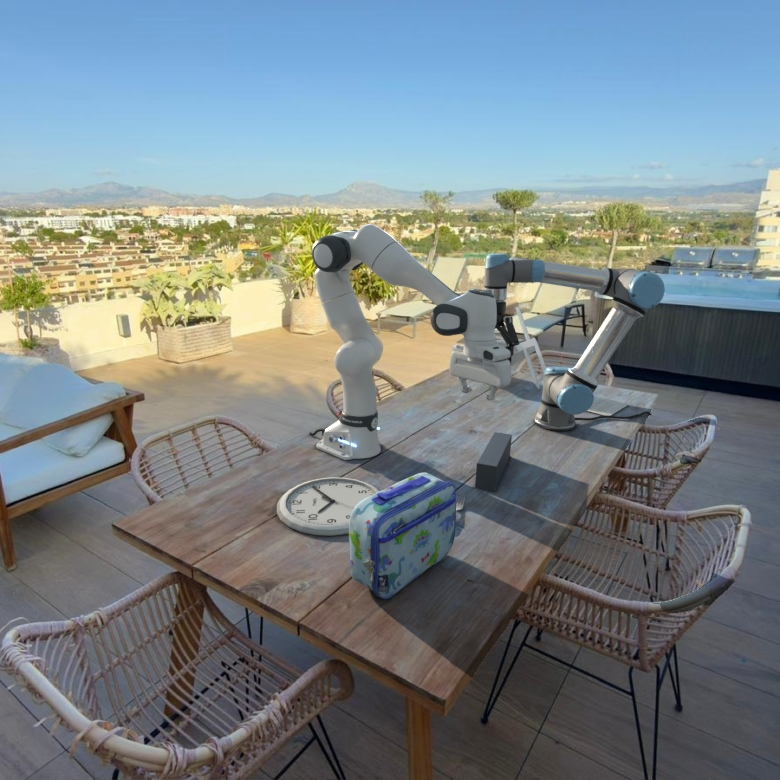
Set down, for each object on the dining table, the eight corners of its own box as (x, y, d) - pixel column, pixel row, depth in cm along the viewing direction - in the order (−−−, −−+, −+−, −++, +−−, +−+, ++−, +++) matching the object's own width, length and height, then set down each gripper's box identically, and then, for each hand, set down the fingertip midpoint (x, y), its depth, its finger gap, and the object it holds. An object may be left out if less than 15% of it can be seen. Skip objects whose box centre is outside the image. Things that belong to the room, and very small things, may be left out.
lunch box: (377, 612, 103) (378, 518, 97) (342, 586, 111) (341, 497, 104) (459, 557, 121) (465, 475, 115) (425, 538, 128) (428, 460, 122)
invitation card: (608, 416, 214) (573, 407, 224) (608, 416, 214) (573, 408, 224) (628, 404, 229) (594, 396, 238) (628, 405, 229) (594, 397, 238)
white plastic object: (486, 418, 267) (465, 395, 242) (467, 346, 289) (447, 318, 264) (556, 394, 255) (543, 367, 230) (531, 321, 277) (516, 289, 252)
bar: (492, 453, 177) (494, 431, 175) (509, 456, 175) (511, 434, 173) (474, 487, 154) (476, 463, 152) (494, 491, 152) (496, 466, 150)
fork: (441, 530, 132) (442, 523, 131) (456, 501, 146) (456, 494, 145) (451, 532, 131) (452, 525, 130) (465, 502, 145) (465, 496, 144)
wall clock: (392, 527, 129) (268, 531, 127) (391, 533, 130) (269, 537, 127) (383, 473, 158) (282, 475, 155) (383, 478, 158) (282, 480, 156)
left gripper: (444, 344, 152) (444, 390, 156) (500, 356, 137) (498, 406, 141) (459, 341, 155) (458, 386, 159) (515, 352, 140) (513, 401, 144)
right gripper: (459, 298, 184) (458, 356, 190) (518, 305, 166) (514, 370, 172) (473, 296, 189) (471, 353, 195) (532, 303, 171) (528, 366, 177)
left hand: (477, 395), depth 150 cm, fingers open, 8 cm apart
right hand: (491, 361), depth 184 cm, fingers open, 13 cm apart
